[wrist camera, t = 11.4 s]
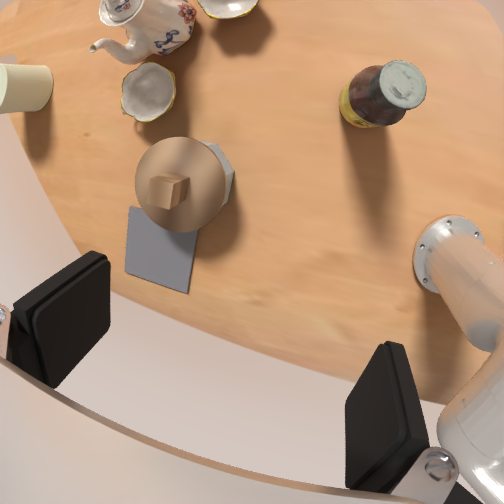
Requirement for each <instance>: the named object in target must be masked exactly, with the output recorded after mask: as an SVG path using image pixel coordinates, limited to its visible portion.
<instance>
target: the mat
mask: <svg viewBox="0 0 504 504" xmlns="http://www.w3.org/2000/svg"><path fill="white" fill-rule="evenodd" d="M197 235H198V230H195V231H191V232H184V233H180V232H173V231H169V230H166V229H164V228H162V227H160V226H158V225H157V224H155V223H154V222H153V221H152V220H151V219H150V218H149V217H148V216H147V215H146V214H145V212H144V211H143V209H140V208H137V207H133V206H131V207H130V208H129V219H128V230H127V243H126V258H125V272H126V273H129V274H132V275H135V276H138V277H140V278H143V279H146V280H149V281H152V282H155V283H157V284H160V285H163V286H166V287H169V288H172V289H175V290H178V291H181V292H184V293H187V292H188V289H189V282H190V276H191V270H192V264H193V258H194V252H195V246H196V241H197Z"/></svg>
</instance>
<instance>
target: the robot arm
mask: <svg viewBox="0 0 504 504" xmlns="http://www.w3.org/2000/svg"><path fill="white" fill-rule="evenodd" d="M448 220H449V221H448ZM447 221H448V222H447ZM420 245H422V246H420ZM413 265H414V270H415V273H416V276H417V277H418V279H419V281H420V282H421V284H422V285H423V286H424V287H425V288H426V289H428V290H429V291H431V292H433V293H437V294H440V295H441V297H442V298H443V300H444V302H445V303H446V305H447V307H448V308H449V310H450V312H451V313H452V315H453V317H454V318H455V320H456V322H457V323H458V325H459V327H460V328H461V330H462V332H463V333H464V335H465V337H466V338H467V340H468V341H469V342H470V343H471V344H472V345H473V346H475V347H476V348H478V349H480V350H482V351H486V352H490V353H491V355H490V356H489V357H488V358H487V360H486V361H485V362H484V363H483V365H482V367H481V368H480V369H479V370H478V371H477V372H476V374H475V375H474V376H473V377H472V378H471V379H470V380H469V381H468V383H467V384H466V385H465V386H464V387H463V388H462V389H461V390H460V391H459V392H458V393H457V395H456V396H455V397H454V398H453V399H452V400H451V401H450V402H449V403H448V405H447V406H446V407H445V408H444V409H443V411H442V413H441V414H440V417H439V419H438V422H437V436H438V440H439V443H440V445H441V448H440V447H430V445H429V438H428V433H427V429H426V425H425V421H424V416H423V412H422V408H421V404H420V400H419V397H418V393H417V389H416V386H415V382H414V379H413V375H412V372H411V368H410V365H409V361H408V358H407V355H406V352H405V348H404V346H403V345H402V344H399V343H395V342H391V341H386V342H385V343H384V344H380V345H379V346H378V347H377V349H376V351H375V352H374V354H373V356H372V358H371V359H370V361H369V363H368V365H367V366H366V368H365V370H364V371H363V373H362V375H361V376H360V378H359V380H358V381H357V383H356V385H355V386H354V388H353V390H352V391H351V393H350V394H349V396H348V398H347V400H346V403H345V435H346V438H345V439H346V471H345V472H346V473H345V486H346V488H349V489H341V488H334V487H327V486H321V485H314V484H309V483H303V482H297V481H292V480H287V479H282V478H277V477H273V476H268V475H264V474H260V473H256V472H252V471H248V470H244V469H241V468H237V467H233V466H230V465H226V464H223V463H220V462H216V461H213V460H210V459H207V458H203V457H201V456H197V455H195V454H192V453H189V452H186V451H183V450H180V449H178V448H175V447H172V446H169V445H167V444H164V443H162V442H159V441H157V440H154V439H152V438H149V437H147V436H145V435H142V434H140V433H138V432H135V431H133V430H131V429H128V428H126V427H124V426H122V425H120V424H117V423H116V422H113V421H111V420H109V419H107V418H105V417H103V416H101V415H99V414H97V413H95V412H93V411H91V410H89V409H87V408H85V407H83V406H82V405H80V404H78V403H76V402H74V401H73V400H71V399H69V398H67V397H65V396H64V395H62V394H60V393H59V392H57V391H55V390H54V389H55V388H57V387H58V386H59V385H60V383H61V382H62V381H63V380H64V379H65V378H66V376H67V375H68V374H69V373H70V372H71V371H72V370H73V369H74V368H75V366H76V365H77V364H78V363H79V362H80V361H81V360H82V359H83V358H84V356H85V355H86V354H87V353H88V352H89V351H90V350H91V349H92V348H93V347H94V345H95V344H96V343H97V342H98V341H99V340H100V339H101V338H102V337H103V335H104V334H105V333H106V332H107V331H108V329H109V327H110V322H111V321H110V269H111V265H110V262H109V261H108V259H107V256H106V255H104V254H101V253H98V252H95V251H89V252H88V253H86V254H85V255H83V256H82V257H80V258H78V259H77V260H76V261H74V262H72V263H71V264H69V265H68V266H66V267H65V268H63V269H62V270H60V271H59V272H58V273H56V274H54V275H53V276H52V277H50V278H49V279H47V280H46V281H44V282H43V283H42V284H40V285H39V286H37V287H36V288H34V289H33V290H31V291H30V292H29V293H27V294H26V295H25V296H23V297H22V298H20V299H19V300H18V301H16V302H15V303H14V304H13V307H14V310H13V311H12V312H10V311H9V309H8V308H7V307H6V306H4V305H1V304H0V504H483V503H482V502H481V501H479V500H478V499H477V498H476V497H475V496H473V495H472V494H471V493H470V492H469V491H467V490H466V489H465V488H464V487H463V486H462V485H460V484H459V483H458V482H457V481H456V480H457V478H458V475H459V473H460V474H461V475H462V476H463V477H464V479H465V480H466V481H467V482H468V483H469V484H470V486H471V487H472V488H473V489H474V490H475V491H476V493H477V494H478V495H479V496H480V497H481V499H482V500H483V501H484V502H485V503H486V504H504V261H503V260H502V259H501V258H500V257H499V256H498V255H496V254H495V253H494V252H493V251H492V250H491V249H489V248H488V247H487V246H486V245H485V243H484V238H483V235H482V233H481V231H480V230H479V228H478V227H477V226H476V225H475V224H474V223H473V222H472V221H470V220H469V219H467V218H465V217H463V216H458V215H448V216H445V217H441V218H439V219H437V220H435V221H434V222H433V223H431V224H430V225H429V226H428V227H427V228H426V229H425V230H424V231H423V232H422V234H421V235H420V237H419V239H418V241H417V243H416V246H415V250H414V255H413ZM424 278H425V279H424ZM52 388H53V389H52Z"/></svg>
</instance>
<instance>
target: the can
mask: <svg viewBox="0 0 504 504" xmlns="http://www.w3.org/2000/svg"><path fill="white" fill-rule="evenodd" d="M52 89H53V76H52V73H51V71H50V69H49V68H48V67H46V66H44V65H40V66H33V65H13V64H1V63H0V114H3V113H13V112H24V111H33V112H35V111H39V110H41V109H42V108H43V107H44V106H45V105H46V104H47V102H48V100H49V98H50V96H51V93H52Z"/></svg>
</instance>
